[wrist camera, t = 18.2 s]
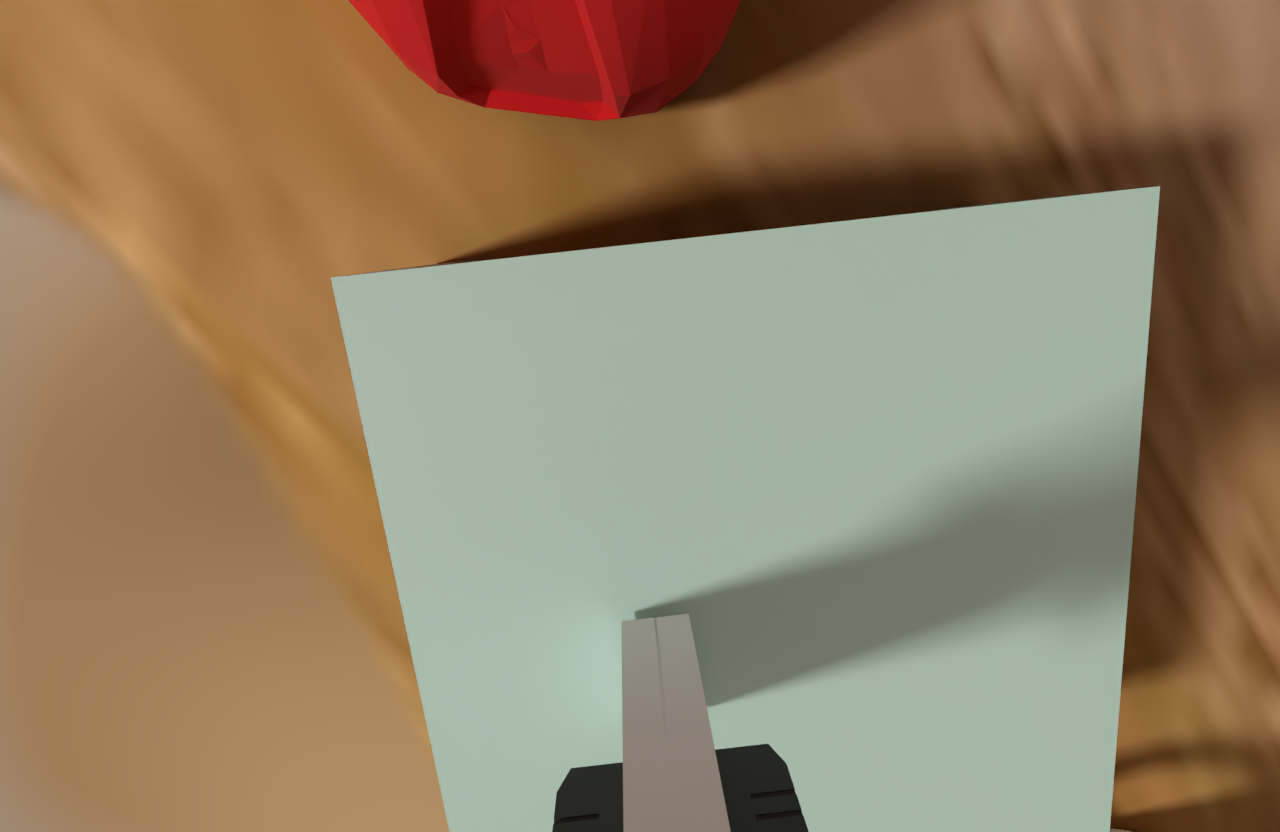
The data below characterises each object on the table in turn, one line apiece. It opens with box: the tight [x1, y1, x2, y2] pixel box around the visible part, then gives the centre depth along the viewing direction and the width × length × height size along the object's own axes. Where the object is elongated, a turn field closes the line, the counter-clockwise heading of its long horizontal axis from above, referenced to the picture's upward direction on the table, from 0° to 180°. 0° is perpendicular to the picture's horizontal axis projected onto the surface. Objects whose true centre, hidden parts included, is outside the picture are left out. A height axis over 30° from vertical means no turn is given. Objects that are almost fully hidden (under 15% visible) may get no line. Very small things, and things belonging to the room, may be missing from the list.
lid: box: [331, 186, 1160, 832], centre depth 16 cm, size 18×16×1 cm
